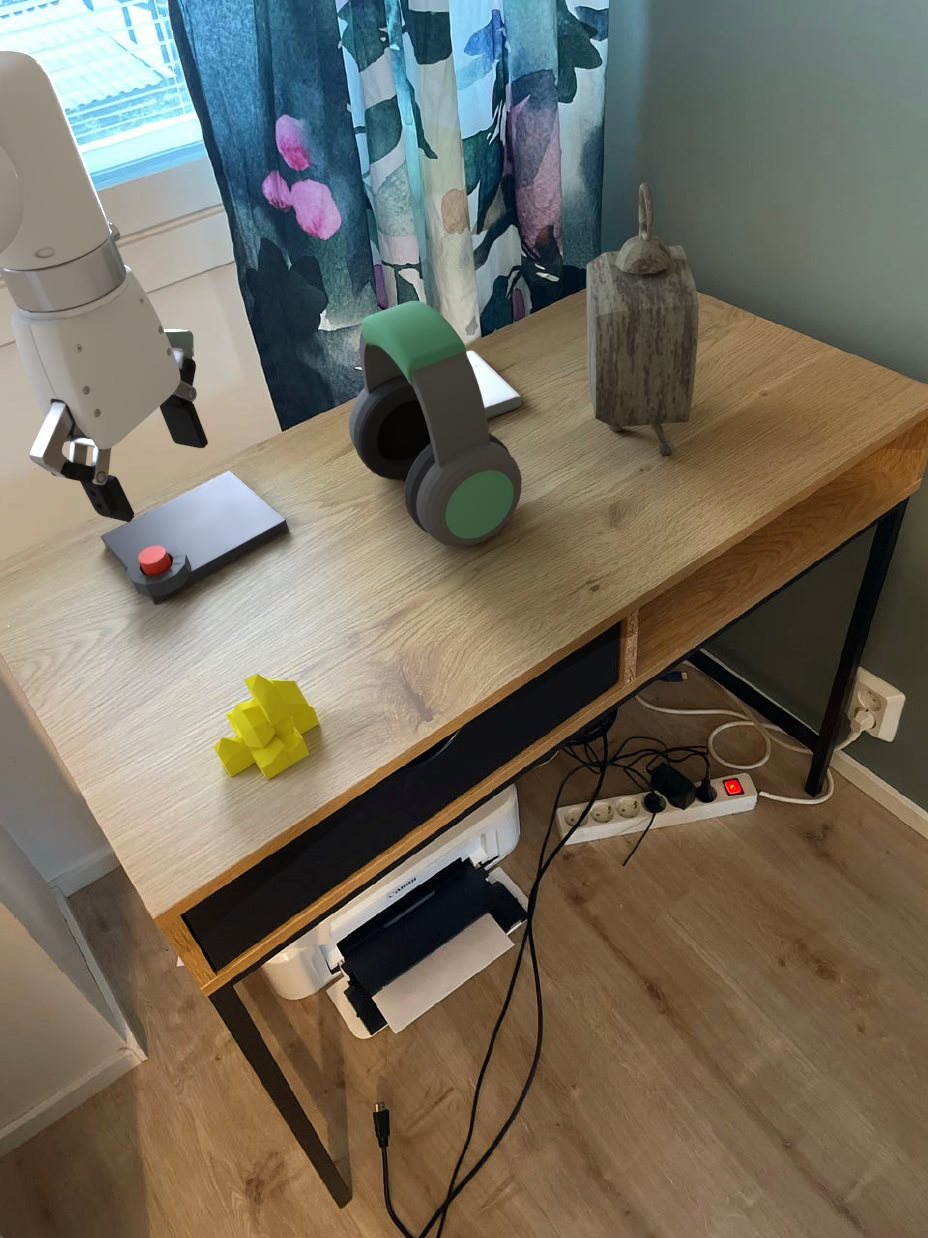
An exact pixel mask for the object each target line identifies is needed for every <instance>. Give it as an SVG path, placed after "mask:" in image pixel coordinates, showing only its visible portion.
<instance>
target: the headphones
mask: <svg viewBox="0 0 928 1238" xmlns="http://www.w3.org/2000/svg"><path fill="white" fill-rule="evenodd" d="M358 342H359V343H358V344H359V345H358V346H359V359H360V368H361V374H362V379H363V385H364V388H362V390H361V391H360V392H359V394H358V395H357V397H356V398H355V400H354V402H353V405H352V407H351V410H350V413H349V417H348V432H349V433H348V434H349V437H350V440H351V442H352V444H353V447H354V449H355V450H356V455H358V457H359V459H360V460H361V462H362V463H363V464H364V465H365V466H366V467H367V468H368V469H369V470H370V471H371V472H372V473H373V474H374V475H377V476H379V478H384V479H388V480H395V481H401V480H402V481H403V480H405V483H404V489H403V494H404V504H405V507H406V511H407V513H408V515H409V516H410V518H411V520H412V521H413V522H414V523H415V525H416V526H417V527H419V529H421V530H422V532H424V533H426V534H427V535H429V536H430V537H432V538H433V539H434V540H436V541H437V542H439V543H441V544H443V545H446V546H450V547H469V546H474V545H477V544H479V543H482V542H485V541H486V540H488V539H490V538H491V537H493V536H495V534H497V533H498V532H500V530H502V528H503V527H505V526H506V524H507V523H508V522H509V520H510V519H511V518H512V516H513V515H514V513H515V511H516V510H517V507H518V504H519V502H520V499H521V494H522V485H523V483H522V480H523V478H522V473H521V469H520V467H519V465H518V463H517V461H516V459H515V458H514V457H513V456H512V454H511V453H510V451H509V449H508V448H507V446H506V445H505V444H504V443H503V442H502V441H501V440H500V439H499V437H497V436H495V435H494V434H493V433H491V432H490V430H489V424H488V419H487V417H486V412H485V407H484V403H483V399H482V395H481V391H480V388H479V385H478V381H477V378H476V376H475V373H474V370H473V368H472V365H471V363H470V361H469V359H468V356H467V353H466V352H467V348H466V346H465V342H464V341H463V339H462V338H461V336H460V335H459V333H458V332H457V331H456V329H455V328H454V326H452V325H451V323H450V322H449V321H448V320H447V319H446V318H445V317H444V316H443V315H442V314H441V313H440V312H439V311H438V310H436V309H435V308H434V307H432V306H431V305H430V304H428V303H426V302H423V301H420V300H411V301H406V302H403V303H400V304H398V305H395V306H391V307H389V308H385V309H383V310H380V311H378V312H375V313H372V314H370V315H368V316H366V317H365V318H363V320H362V322H361V331H360V334H359V341H358Z"/></svg>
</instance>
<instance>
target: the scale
mask: <svg viewBox="0 0 928 1238" xmlns="http://www.w3.org/2000/svg"><path fill="white" fill-rule="evenodd" d="M289 531H290V527H289V525H288V522H287V519H286V518H284V517H283V515H281V514H280V513H278V511H277V510H275V509H274V508H273V507H272V506H271V505H270V504H269V503H268V502H266V500H264V499H263V498H262V497H261V496H259V495H258V494H257V493H256V492H255V491H254V490H252V489H251V488H250V487H249V486H248V485H247V484H246V483H245V482H243V481H242V480H241V479H240V478H239V477H238V476H237V475H235V474H234V473H233V472H232V471H231V470H227V471H224V472H223V473H221V474H219V475H217V476H214V477H213V478H211V479H209V480H207V481H205V482H203V483H202V484H200V485H198V486H195V487H194V488H191V489H190V490H187V491H186V492H184V493H182V494H180V495H178V496H176V497H174V498H172V499H170V500H168V501H166V502H164V503H162V504H160V505H158V506H156V507H154V508H152V509H150V510H149V511H146V512H145V513H142V514H141V515H138V516H137V517H134V518H133V519H132V520H131V521H130V522H124V523H123V524H121V525H119V526H117V527H115V528H113V529H111V530H109V531H107V532H105V533H104V534H101V535H100V538H101V541H102V542H103V545H104V546H105V547H106V549H107V551H109V552H110V553H111V555H112V556H113V557H114V558H115V559H116V561H117V562H118V563H119V565H121V566H122V568H123V569H124V570H125V571H126V577H127V579H128V581H129V582H130V584H131V586H132V588H133V589H134V591H136V593H137V594H138V595H140V596H141V595H142V596H146V597H148V599H149V600H150V601H151V602H152V603H153V605H158V604H160V603H161V602H163V601H165V600H166V599H168V598H170V597H172V596H174V595H176V594H177V593H179V592H181V591H183V590H185V589H186V588H188V587H190V586H191V585H193V584H195V583H197V582H199V581H200V580H202V579H204V578H206V577H209V576H210V575H211V574H213V573H215V572H217V571H218V570H220V569H223V568H224V567H226V566H228V565H229V564H231V563H233V562H235V561H237V560H239V559H241V558H242V557H244V556H246V555H248V554H249V553H252V552H253V551H255V550H257V549H258V548H260V547H262V546H264V545H265V544H267V543H269V542H271V541H273V540H274V539H276V538H278V537H280V536H282V535H283V534H285V533H287V532H289ZM151 546H162V547H164V548H165V549H166V552H167V554H168V556H169V558H170V560H171V566H170V568H169V569H168V570H167V571H165V572H163V573H161V574H159V575H154V576H149V575H147V574H145V572H144V571H143V568H142V566H141V564H140V562H139V560H138V557H139V554H140V553H141V552H142V551H143V550H144V549H146V548H148V547H151Z"/></svg>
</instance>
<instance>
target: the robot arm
mask: <svg viewBox="0 0 928 1238" xmlns="http://www.w3.org/2000/svg"><path fill="white" fill-rule="evenodd" d="M120 240H121V233H120V231H119V229H118V228H117V226H116V225H115V224H114V223H112V222H110V221H108V220H107V216H106V214H105V211H104V209H103V207H102V204H101V201H100V199H99V196H98V194H97V191H96V188H95V187H94V183H93V181H92V178H91V175H90V173H89V170H88V168H87V165H86V163H85V160H84V157H83V155H82V152H81V150H80V148H79V145H78V142H77V140H76V137H75V134H74V132H73V130H72V127H71V124H70V122H69V120H68V117H67V114H66V111H65V109H64V107H63V104H62V102H61V98H60V96H59V93H58V91H57V88H56V86H55V84H54V82H53V79H52V77H51V75H50V74H49V72H48V70H47V69H46V67H45V66H44V65H43V64H42V62H41V61H40V60H38V59H37V58H36V57H35V56H32V54H29V53H27V52H24V51H19V50H11V49H0V276H1V278H2V280H3V283H4V284H5V286H6V288H7V290H8V293H9V294H10V297H11V299H12V300H13V302H14V303H13V304H15V307H16V308H17V309H16V310H15V311H14V312H13V313H12V314H11V315H10V316H9V318H10V323H11V329H12V333H13V337H14V342H15V344H16V348H17V351H18V354H19V358H20V361H21V364H22V366H23V369H24V372H25V375H26V377H27V379H28V382H29V385H30V387H31V389H32V392H33V395H34V397H35V399H36V401H37V404H38V406H39V408H40V410H41V412H42V415H43V416H44V417H43V418H44V420H43V423H42V425H41V427H40V429H39V431H38V434H37V436H36V438H35V440H34V443H33V445H32V446H31V448H30V451H29V459H30V460H31V461H32V462H33V463H34V464H36V465H38V466H39V467H40V468H43V469H44V470H45V471H47V472H50V474H51V475H52V476H54V477H58V478H63V479H67V480H72V481H76V482H80V484H81V486H82V489H83V490H84V492H85V494H86V496H87V498H88V500H89V502H90V503H91V505H92V507H93V509H94V511H95V512H96V513H97V514H98V515H100V516H102V517H104V518H109V519H112V520H117V521H122V522H124V523H127V522H130V521H131V520H133V519H135V511H134V510H133V508H132V505H131V503H130V501H129V499H128V497H127V495H126V492H125V490H124V488H123V487H122V484H121V482H120V480H119V479H118V477H117V476H115V475H113V474H109V472H110V465H111V456H112V447H115V446H116V445H118V444H119V443H120V442H121V441H122V440H124V439H125V437H127V436H128V435H129V434H130V433H132V432H133V431H134V430H135V429H136V428H137V427H138V426H139V425H140V424H142V423H143V422H144V421H145V420H146V419H147V418H149V416H150V415H152V414H153V413H154V412H155V411H156V410H157V409H158V408H159V410H160V412H161V414H162V417H163V420H164V422H165V424H166V426H167V430H168V431H169V434H170V436H171V439H172V442H173V443H174V444H176V445H179V446H185V447H191V448H197V449H204V448H206V447H207V445H209V441H208V438H207V436H206V432H205V429H204V427H203V425H202V422H201V420H200V417H199V414H198V411H197V409H196V406H195V404H194V402H195V401H196V398H197V395H198V394H197V393H198V392H197V389H196V387H195V386H194V382H195V376H196V372H197V371H196V370H197V364H196V361H195V360H194V358H193V357H195V349H194V348H195V347H194V346H195V344H194V343H195V342H194V341H195V339H194V334H193V332H192V331H191V330H185V329H179V328H178V329H177V328H176V329H175V328H173V329H172V328H170V329H165V328H164V326H163V324H162V321H161V320H160V317H159V316H158V313H157V312H156V310H155V307H154V305H153V304H152V302H151V300H150V299H149V296H148V294H147V293H146V291H145V289H144V287H143V286H142V284H141V283H140V281H139V279H138V278H137V276H136V275H135V273H134V272H133V270H132V269H131V268H130V267H129V266H128V265H125V263H124V261H123V259H122V256H121V253H120V250H119V248H118V246H117V242H118V241H120ZM67 442H69V448H68V457H66V456H65V455H64V453H63V447H64V445H65V443H67ZM89 447H90V448H92V456H91V464H90V465H87V458H88V449H89Z"/></svg>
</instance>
